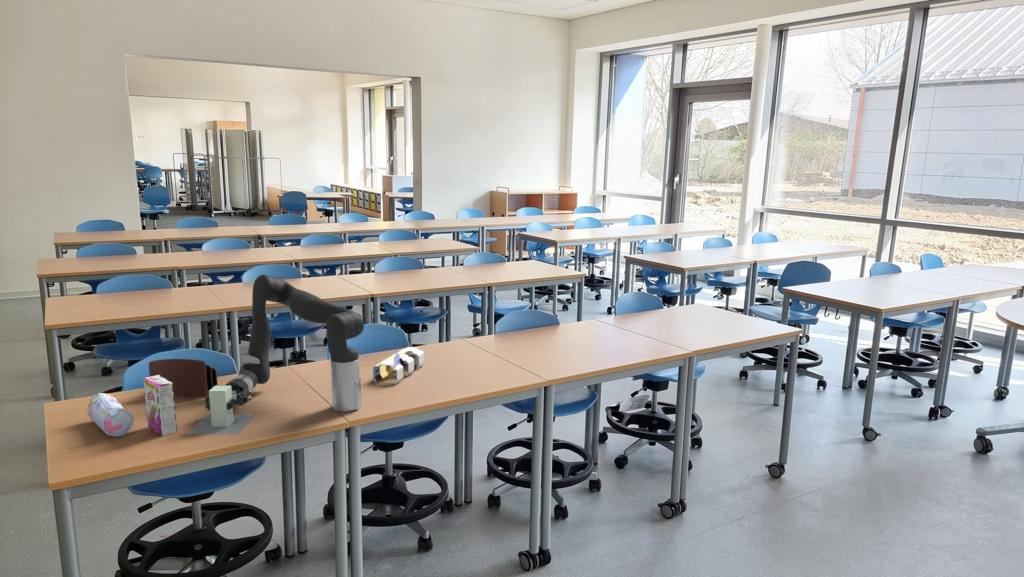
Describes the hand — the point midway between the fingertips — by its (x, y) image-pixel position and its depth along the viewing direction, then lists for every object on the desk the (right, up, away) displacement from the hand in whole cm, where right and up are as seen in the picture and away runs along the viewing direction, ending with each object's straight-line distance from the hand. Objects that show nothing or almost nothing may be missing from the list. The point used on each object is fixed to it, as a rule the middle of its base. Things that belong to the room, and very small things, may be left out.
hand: (218, 406), depth 205 cm
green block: (0, -6, +4) cm, 7 cm away
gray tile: (0, -6, +4) cm, 7 cm away
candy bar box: (-17, -7, -1) cm, 19 cm away
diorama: (+47, +3, +57) cm, 74 cm away
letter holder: (-27, -1, +33) cm, 42 cm away
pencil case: (-34, -7, +1) cm, 35 cm away
